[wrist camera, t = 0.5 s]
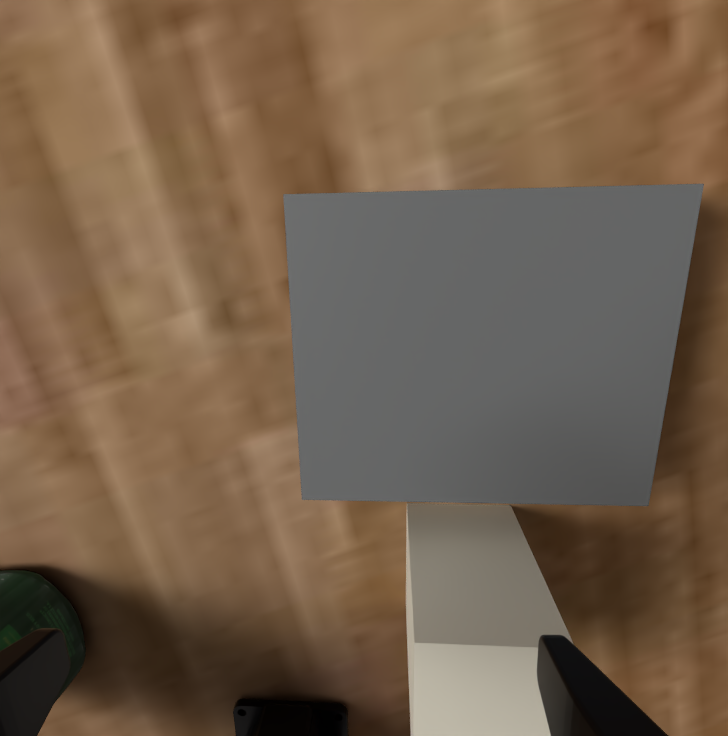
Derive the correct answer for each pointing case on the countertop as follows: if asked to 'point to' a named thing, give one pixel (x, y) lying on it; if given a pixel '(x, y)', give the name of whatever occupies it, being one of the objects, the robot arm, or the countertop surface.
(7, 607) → the coffee jar
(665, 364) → the podium
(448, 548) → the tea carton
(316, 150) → the countertop surface
